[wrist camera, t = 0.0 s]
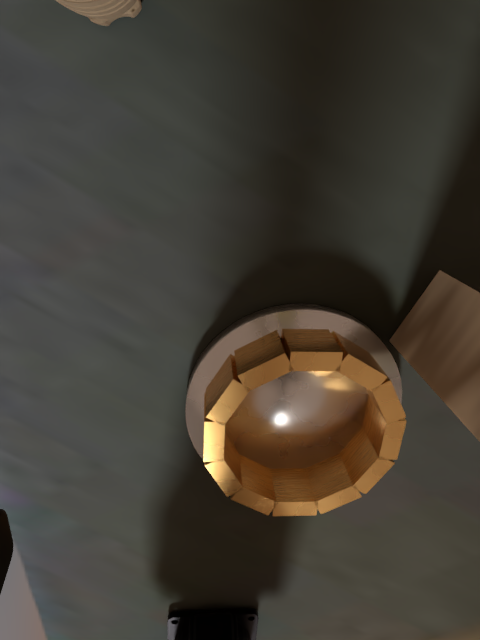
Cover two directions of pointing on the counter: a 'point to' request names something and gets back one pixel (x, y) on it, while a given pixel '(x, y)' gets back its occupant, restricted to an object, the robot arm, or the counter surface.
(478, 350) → the post
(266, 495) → the segmented gold bowl
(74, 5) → the handle
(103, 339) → the counter surface
